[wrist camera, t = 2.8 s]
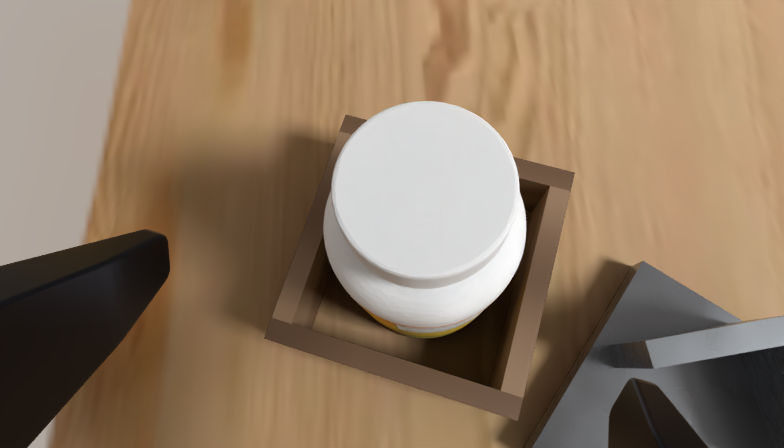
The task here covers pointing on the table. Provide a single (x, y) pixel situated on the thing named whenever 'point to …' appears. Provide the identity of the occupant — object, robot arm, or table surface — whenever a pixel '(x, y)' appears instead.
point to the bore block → (503, 396)
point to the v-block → (673, 368)
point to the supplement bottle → (425, 218)
